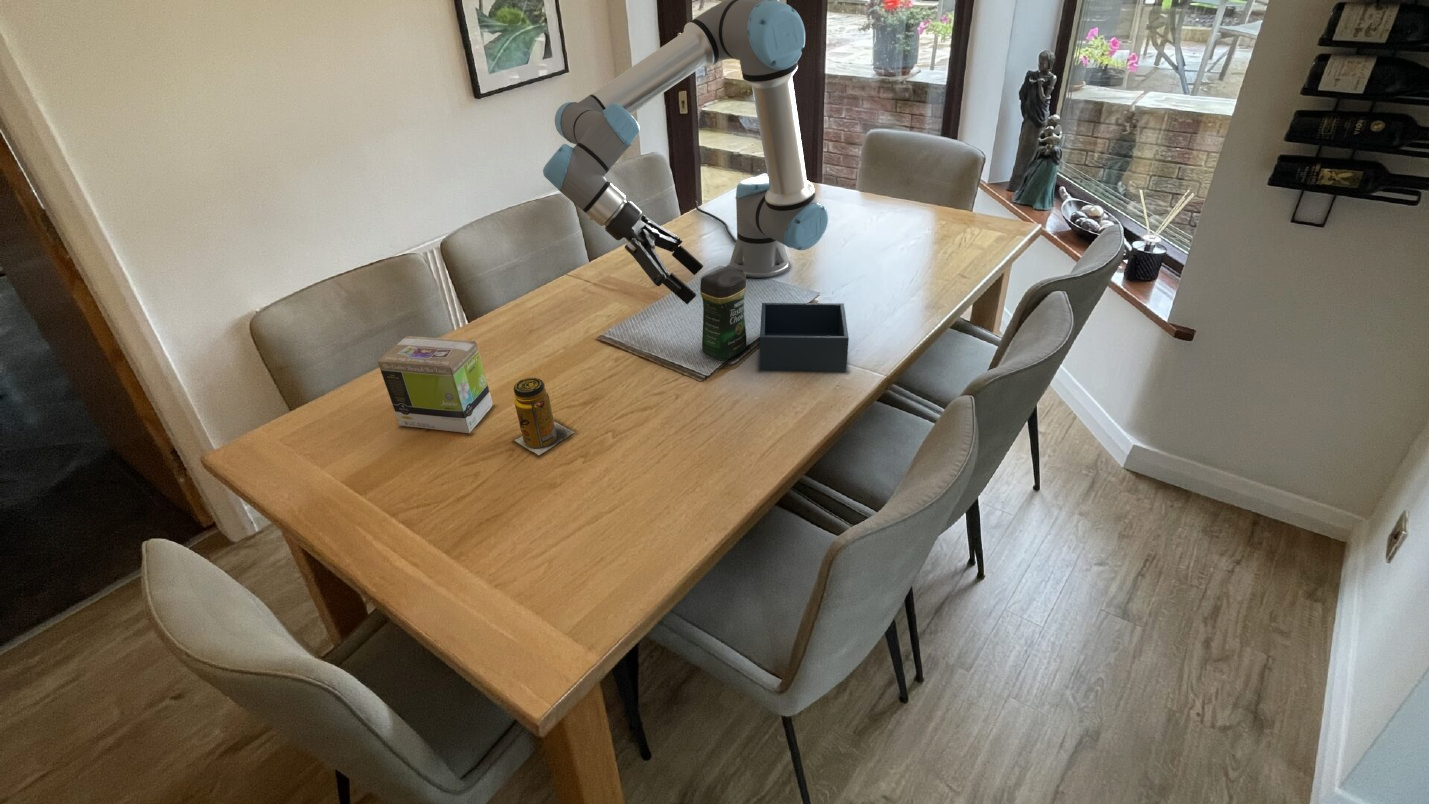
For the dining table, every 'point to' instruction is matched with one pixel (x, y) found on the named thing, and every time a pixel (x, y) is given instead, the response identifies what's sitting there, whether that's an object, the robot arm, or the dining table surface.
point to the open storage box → (803, 337)
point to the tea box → (436, 383)
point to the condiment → (536, 417)
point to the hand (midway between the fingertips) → (695, 284)
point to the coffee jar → (723, 312)
